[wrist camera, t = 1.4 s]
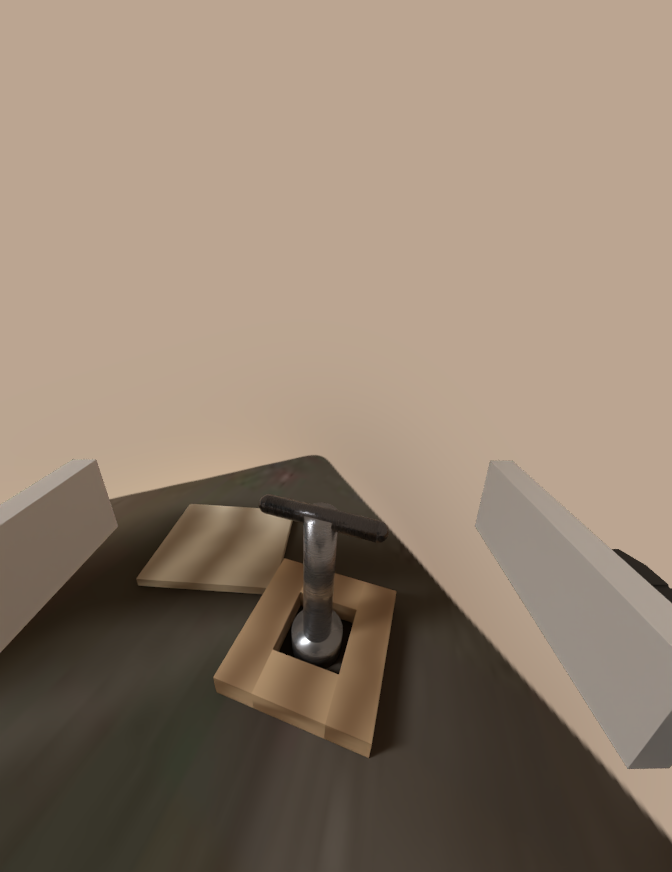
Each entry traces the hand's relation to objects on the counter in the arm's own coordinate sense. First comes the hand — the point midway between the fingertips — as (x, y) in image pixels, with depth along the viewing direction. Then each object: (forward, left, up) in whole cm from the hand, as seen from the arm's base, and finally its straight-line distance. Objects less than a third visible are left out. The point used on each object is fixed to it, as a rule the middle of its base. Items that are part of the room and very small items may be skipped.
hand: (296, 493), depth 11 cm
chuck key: (-2, +8, -22) cm, 24 cm away
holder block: (-2, +8, -22) cm, 24 cm away
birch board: (-16, +15, -22) cm, 31 cm away
